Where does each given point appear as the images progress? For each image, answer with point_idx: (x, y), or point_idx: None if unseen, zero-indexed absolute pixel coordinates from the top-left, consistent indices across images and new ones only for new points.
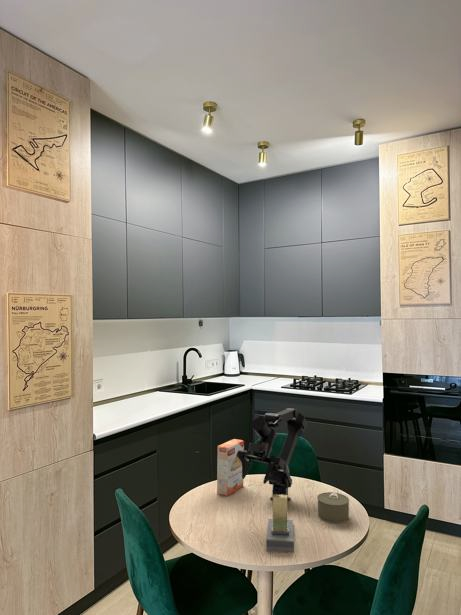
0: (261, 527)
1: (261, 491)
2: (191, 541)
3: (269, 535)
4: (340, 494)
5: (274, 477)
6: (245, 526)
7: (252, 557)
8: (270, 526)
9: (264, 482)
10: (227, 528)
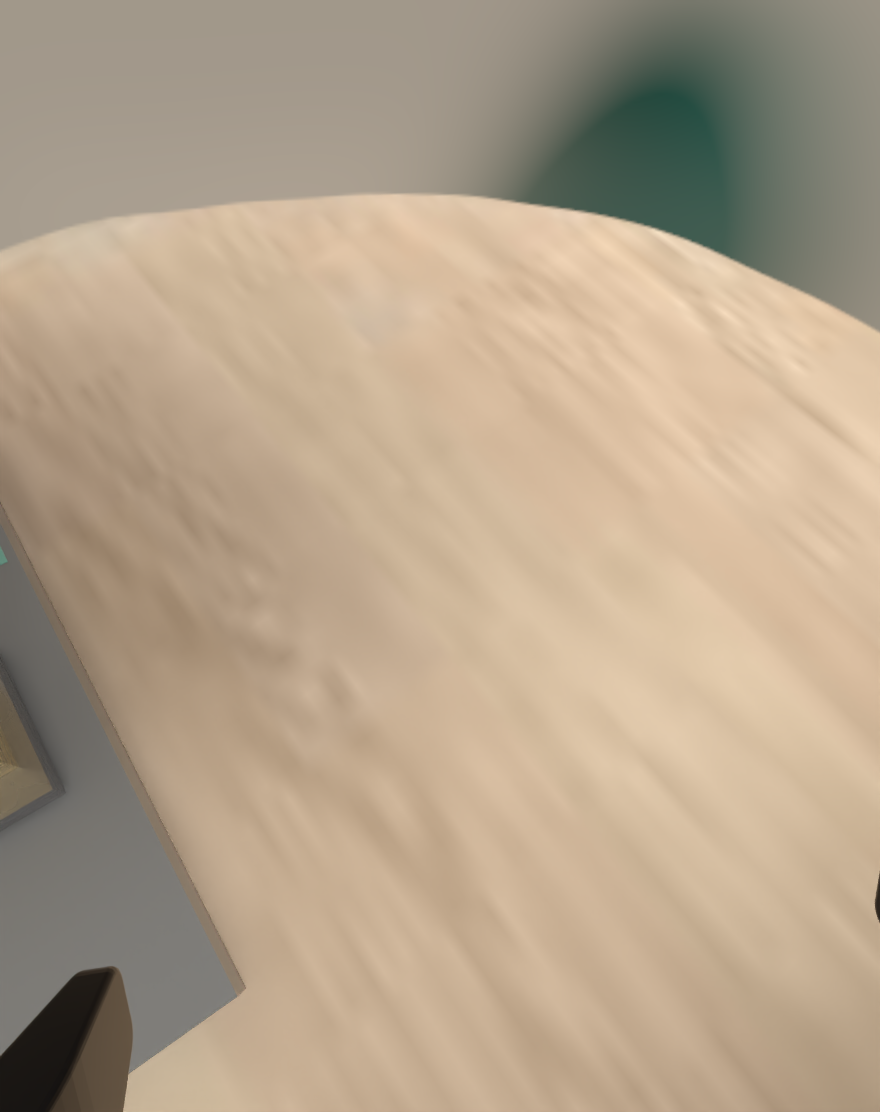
0: (254, 815)
1: None
2: (597, 246)
3: (14, 618)
4: None
5: None
6: (419, 713)
7: (43, 316)
8: (101, 812)
9: (68, 986)
10: (535, 563)
